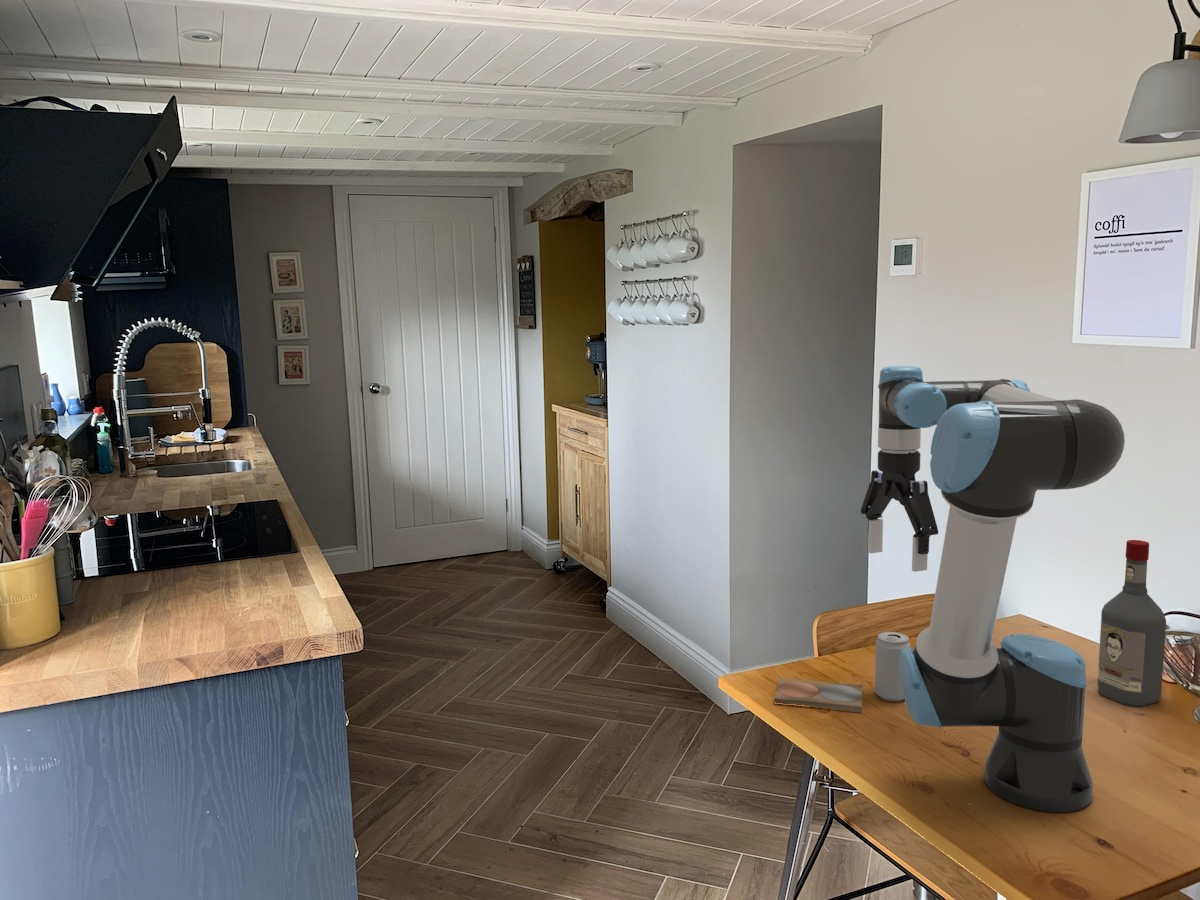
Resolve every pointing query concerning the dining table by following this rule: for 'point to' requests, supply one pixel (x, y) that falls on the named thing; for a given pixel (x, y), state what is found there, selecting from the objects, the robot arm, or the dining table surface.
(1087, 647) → the dining table surface
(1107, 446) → the robot arm
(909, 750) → the dining table surface
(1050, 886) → the dining table surface
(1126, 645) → the liquor
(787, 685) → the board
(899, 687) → the beverage can
